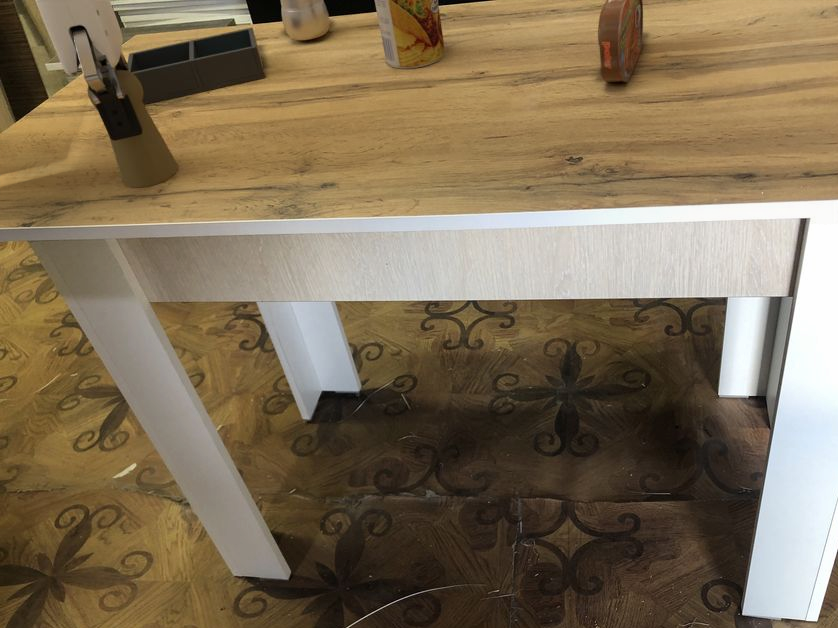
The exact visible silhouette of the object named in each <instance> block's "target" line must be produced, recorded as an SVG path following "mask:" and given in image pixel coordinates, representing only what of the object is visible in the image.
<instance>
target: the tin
mask: <svg viewBox="0 0 838 628" xmlns="http://www.w3.org/2000/svg"><path fill="white" fill-rule="evenodd" d="M597 28H598V29H597V41H598V42H597V43H598V48H599V57H600V58H599V59H600V76H601V79H602V80H603V81H604V82H606V83H617V82H619V83H621V82H623V83H628V82H629V81H630V78H631V76H632V74H633V71H634V68H635V66H636V64H637V62H638V59H639V57H640V55H641V50H642V44H643V35H644V34H643V33H644V3H643V0H605V3H604V4H603V6H602V8H601V11H600V14H599V18H598V26H597Z"/></svg>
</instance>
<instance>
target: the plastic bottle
mask: <svg viewBox="0 0 838 628" xmlns="http://www.w3.org/2000/svg"><path fill="white" fill-rule="evenodd" d="M280 5H281V20H282V25H283V27H284V31H285V32H286V34H287V35H288V36H289V38H291V39H292V40H295V41H307V40H313V39H317V38H320V37H322V36H325V34H327V33H328V31H329V28H330V15H329V11H328V9H327V5H326V2H325V1H324V0H280Z"/></svg>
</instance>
